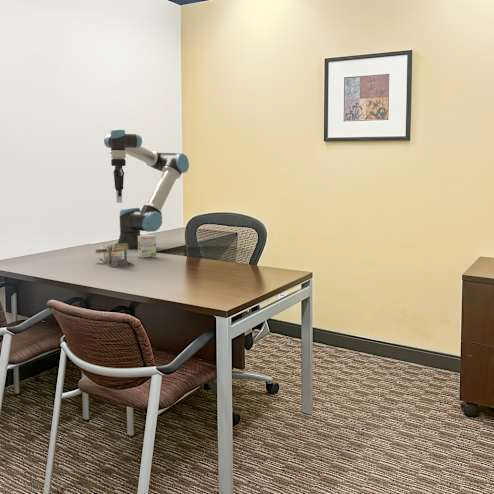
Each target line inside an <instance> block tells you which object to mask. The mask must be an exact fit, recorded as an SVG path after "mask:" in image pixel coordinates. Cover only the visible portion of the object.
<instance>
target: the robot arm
mask: <svg viewBox="0 0 494 494" xmlns="http://www.w3.org/2000/svg"><path fill="white" fill-rule="evenodd" d="M103 142H104V143H103V144H104V146H105V147H106V148H109V149H110V152H109V154H110V157H111V160H110V162H111V164H110V165H111V166H112V167H114V169H113V172H112V173H113V178H114V179H113V180H114V189H115V192H116V193H115V194H116V204H118V203H119V204H121V203H123V190H124V177H125V171H124V169H123V167H126V163H127V162H126V161H127V160H126V155H128V156H130V157H133V158H134V159H137V160H140V161H141V162H143V163H145V164H146V165H147V167H151V168H152V169H155V170H157V171H160V172H162V174H161V176H160V178H159V180H158V182H157V184H156V186H155V188H154V190H153V192H152V193H151V196H150V198H149V200H148V202H147V204H143V206H142V208H141V209H140V207H133V208H124V209H123V208H122V209H120V211H119V232H120V233H119V238H118V241H117V243H116V244H121V243H128V250H129V249H133V250H134V249H138V236H142V234H141V232H147V233H148V232H149V233H150V232H156V231H158V230H159V229H160V228H161V227H162V225H163V216H162V215H163V213H162V209H163V207H164V205H165V202H166V201H167V199H168V196H170V195H169V194H170V193H171V190H172V188H173V186H174V184H175V183H176V180H177V179H180V178H181V175H182V174H184V173H187V172H188V170H189V168H190V163H189V159H188V156H187V155H186V154H185V153H181V152H176V153H175V152H157V151H155V150H149V149H148V148H145V147H143V146H142V144H143V139H142V136H141V135H139V134H136V133H126V131H125V129H123V128H122V129H120V128H117V129H116V128H114V129H111V130H110V133H109V134H107V135H105V137H104V139H103Z"/></svg>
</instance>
